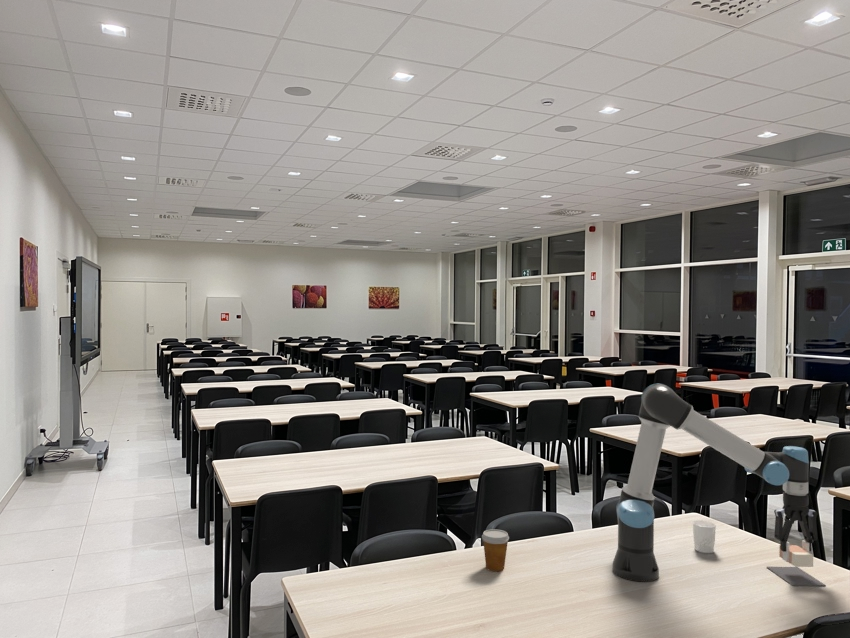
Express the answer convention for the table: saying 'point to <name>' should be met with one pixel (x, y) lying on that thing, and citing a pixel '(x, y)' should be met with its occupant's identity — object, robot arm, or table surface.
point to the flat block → (799, 557)
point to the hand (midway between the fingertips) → (795, 560)
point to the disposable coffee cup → (495, 548)
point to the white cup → (704, 536)
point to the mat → (795, 576)
